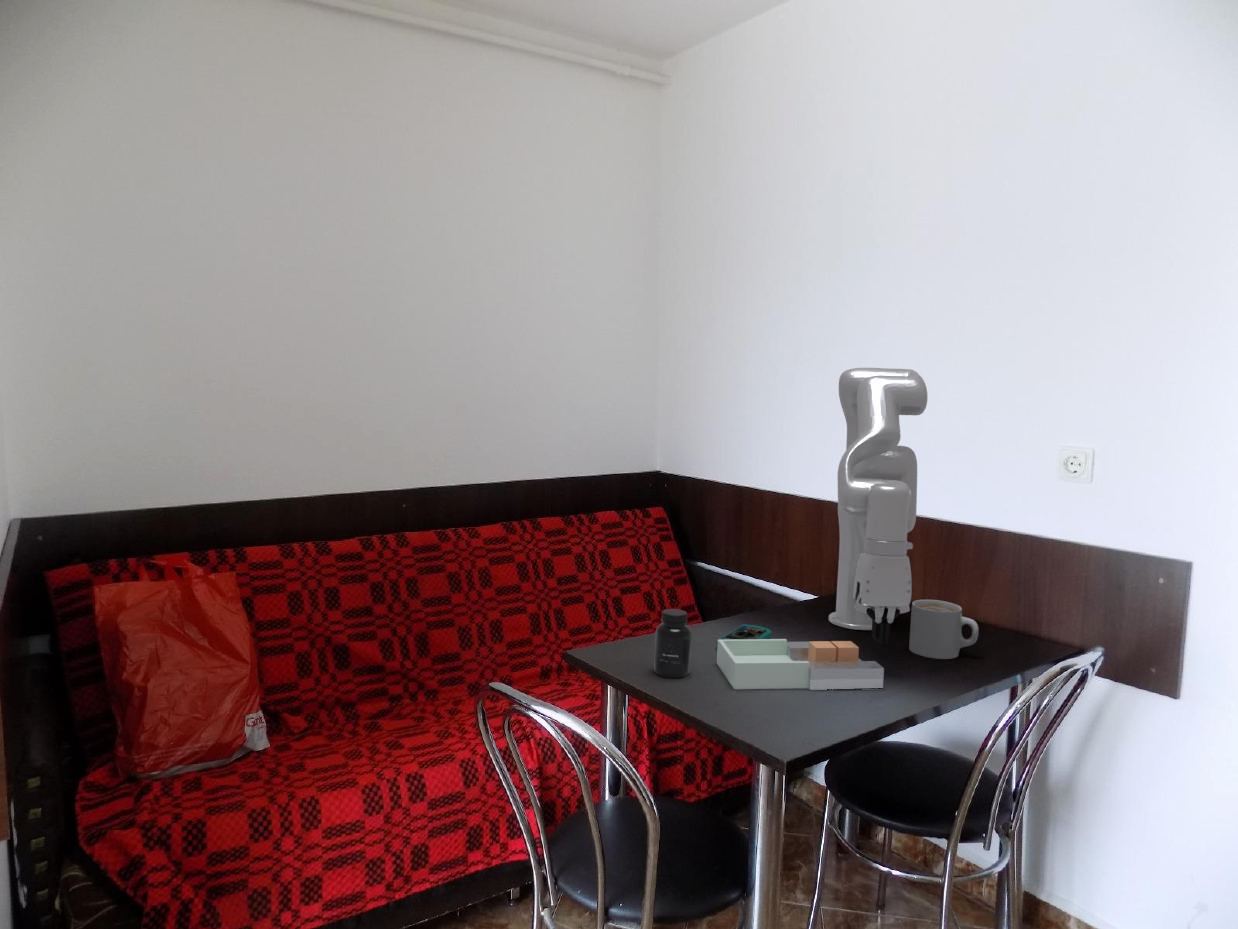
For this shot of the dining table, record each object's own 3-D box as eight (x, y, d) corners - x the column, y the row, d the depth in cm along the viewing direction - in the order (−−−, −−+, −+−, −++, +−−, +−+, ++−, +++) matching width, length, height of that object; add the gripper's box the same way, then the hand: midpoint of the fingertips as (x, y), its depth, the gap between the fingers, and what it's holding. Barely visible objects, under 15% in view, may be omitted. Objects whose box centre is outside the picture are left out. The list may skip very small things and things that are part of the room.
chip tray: (784, 662, 169) (785, 639, 169) (808, 688, 156) (809, 662, 155) (716, 663, 168) (717, 639, 167) (734, 689, 154) (735, 663, 154)
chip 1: (827, 661, 165) (828, 641, 165) (835, 668, 161) (836, 647, 161) (807, 661, 165) (809, 641, 164) (815, 668, 161) (816, 648, 160)
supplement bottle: (663, 681, 157) (666, 618, 156) (648, 669, 163) (650, 608, 162) (696, 676, 160) (698, 615, 159) (679, 665, 166) (681, 606, 165)
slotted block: (849, 660, 172) (850, 641, 172) (882, 689, 156) (884, 668, 156) (783, 661, 170) (784, 641, 170) (809, 690, 155) (811, 669, 154)
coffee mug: (901, 651, 179) (904, 605, 178) (918, 641, 187) (921, 597, 186) (966, 666, 171) (970, 618, 170) (981, 655, 178) (985, 608, 177)
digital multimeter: (773, 640, 185) (773, 627, 185) (747, 659, 173) (748, 645, 172) (741, 634, 189) (742, 622, 189) (714, 652, 176) (715, 638, 176)
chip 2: (849, 660, 166) (850, 641, 165) (857, 667, 162) (858, 647, 161) (830, 661, 165) (831, 641, 165) (837, 668, 161) (838, 647, 161)
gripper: (913, 545, 166) (908, 636, 168) (840, 544, 165) (835, 636, 166) (931, 552, 159) (926, 647, 160) (856, 551, 157) (850, 647, 159)
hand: (880, 641), depth 163 cm, fingers closed
